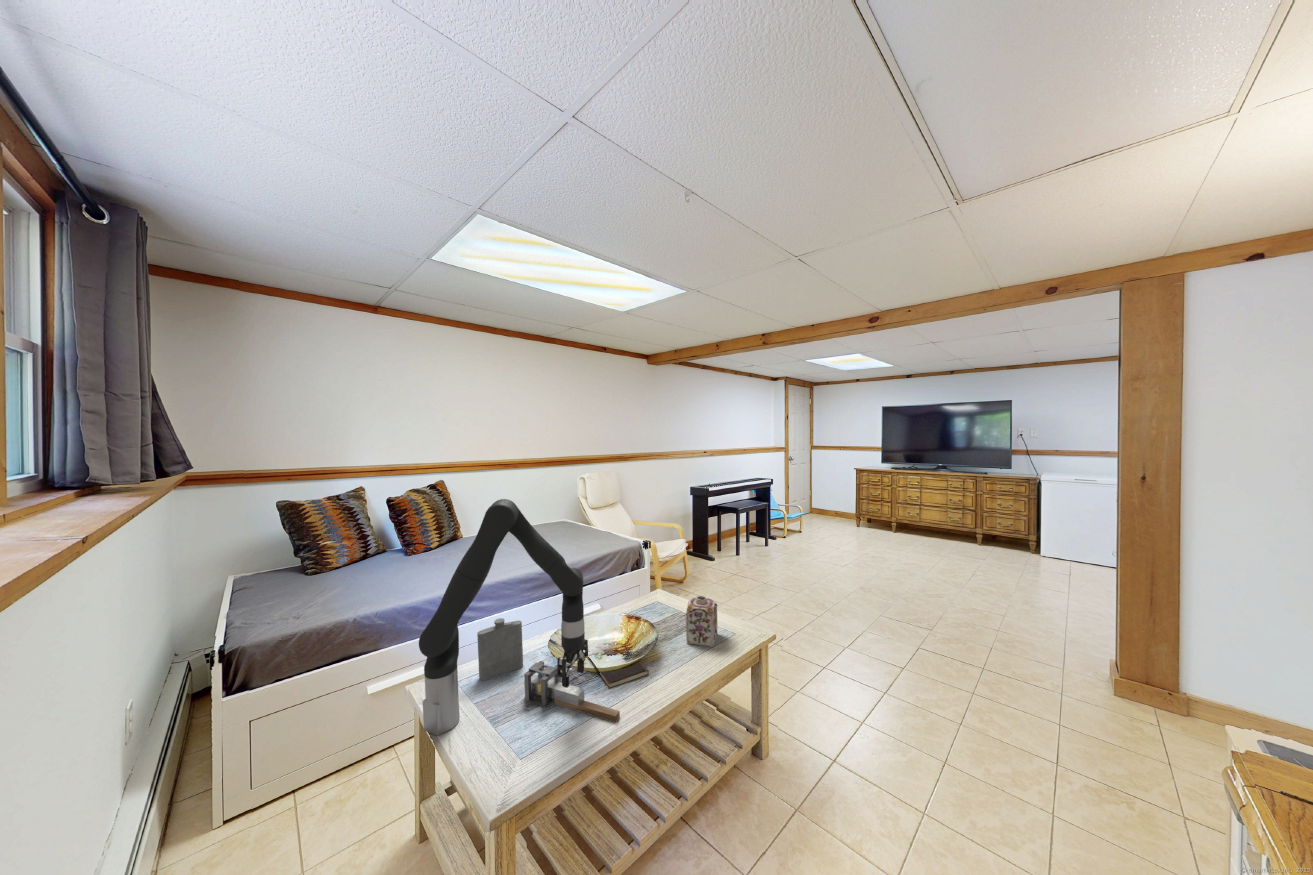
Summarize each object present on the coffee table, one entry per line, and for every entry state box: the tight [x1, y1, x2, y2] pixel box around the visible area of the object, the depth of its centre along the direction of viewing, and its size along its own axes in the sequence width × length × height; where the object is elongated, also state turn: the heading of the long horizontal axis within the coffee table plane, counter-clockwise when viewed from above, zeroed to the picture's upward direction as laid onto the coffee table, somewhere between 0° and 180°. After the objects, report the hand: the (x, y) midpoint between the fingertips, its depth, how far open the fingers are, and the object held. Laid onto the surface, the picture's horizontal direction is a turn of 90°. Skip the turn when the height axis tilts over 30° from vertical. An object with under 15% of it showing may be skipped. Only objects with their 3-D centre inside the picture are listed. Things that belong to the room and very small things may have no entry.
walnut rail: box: [553, 699, 621, 723], centre depth 137 cm, size 3×24×2 cm, turn 67°
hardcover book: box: [599, 661, 650, 688], centre depth 162 cm, size 16×23×2 cm
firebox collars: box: [523, 660, 562, 709], centre depth 144 cm, size 8×9×10 cm
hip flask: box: [476, 617, 524, 682], centre depth 159 cm, size 16×4×20 cm, turn 122°
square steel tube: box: [523, 674, 585, 706], centre depth 142 cm, size 22×4×4 cm, turn 67°
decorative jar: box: [685, 595, 718, 648], centre depth 179 cm, size 12×12×18 cm
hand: (573, 679), depth 138 cm, fingers open, 8 cm apart
